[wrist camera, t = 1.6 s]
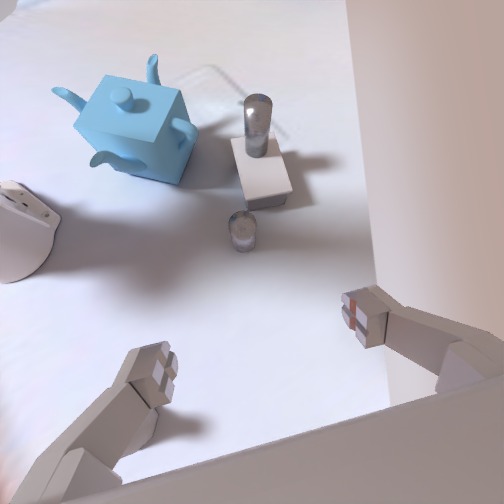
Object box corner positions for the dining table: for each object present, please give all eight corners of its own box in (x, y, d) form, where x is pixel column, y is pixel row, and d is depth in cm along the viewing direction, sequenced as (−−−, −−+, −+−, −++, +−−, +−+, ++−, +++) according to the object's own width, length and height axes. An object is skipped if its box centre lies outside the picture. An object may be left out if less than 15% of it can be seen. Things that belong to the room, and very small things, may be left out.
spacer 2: (240, 148, 39) (238, 103, 31) (256, 136, 40) (258, 89, 32) (255, 162, 39) (257, 119, 30) (272, 149, 40) (278, 104, 31)
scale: (232, 159, 46) (230, 138, 40) (271, 152, 46) (273, 131, 41) (245, 213, 42) (245, 199, 36) (287, 205, 42) (292, 190, 37)
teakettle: (215, 173, 45) (199, 109, 30) (135, 212, 42) (77, 162, 27) (178, 116, 49) (149, 37, 35) (103, 148, 46) (39, 76, 32)
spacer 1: (228, 241, 40) (222, 223, 31) (244, 227, 41) (243, 205, 32) (243, 257, 39) (241, 242, 31) (259, 242, 40) (262, 224, 31)
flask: (138, 460, 30) (86, 530, 21) (101, 431, 31) (36, 486, 22) (167, 411, 32) (131, 455, 22) (131, 385, 33) (83, 417, 23)
